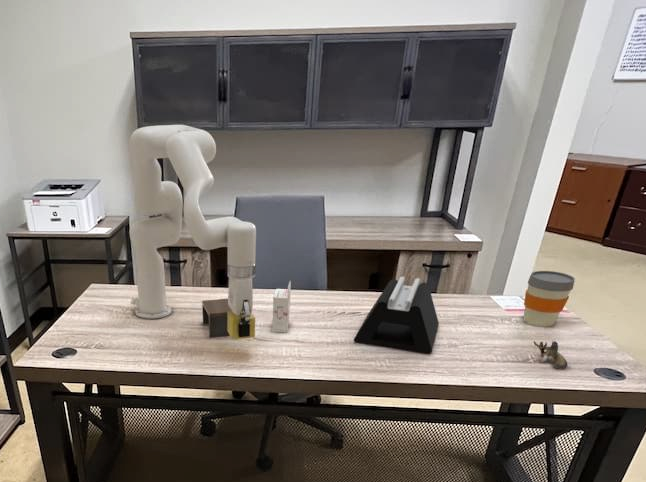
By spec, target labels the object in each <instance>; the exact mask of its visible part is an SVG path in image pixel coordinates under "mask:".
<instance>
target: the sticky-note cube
mask: <svg viewBox="0 0 646 482" xmlns="http://www.w3.org/2000/svg"><path fill="white" fill-rule="evenodd" d="M241 313H244V311H241ZM250 315H251V317H250V336H249V337H239V336H238V324H239V323H240V321H239V314H238V315H236V314H234V312H233V311H230V312H227V331H228V333H229V334H230V336H229V337H230V338H231V340H242V339H243V340H245V339H255V337H256V316H255V315H254V314H253V313H252V312H251V313H250ZM244 316H245V315H242V319H243V317H244Z"/></svg>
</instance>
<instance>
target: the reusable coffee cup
mask: <svg viewBox="0 0 646 482" xmlns="http://www.w3.org/2000/svg"><path fill="white" fill-rule="evenodd" d="M575 279H576V278H575V277H574V276H572V275H571V274H567V273H564V272H559V271H552V270H551V271H550V270H536V271H533V272H531V273H530V276H529V278H528V280H527V284H528V285H527V289H526V290H525V294H524V302H523V305H524V311H523V321H524V322H525V323H526V324H529V325H532V326H535V327H545V328H546V327H552V326H554V325H555V323H556V321H557V319H558V317H559V315H560V313H561V312H562V311H563V310H564V308H565V306H566V304H567V303H568V300H569V298H570V296H569V295H570V293H571V291H572V290H573V289H574V286H575Z"/></svg>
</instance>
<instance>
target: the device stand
mask: <svg viewBox="0 0 646 482" xmlns="http://www.w3.org/2000/svg"><path fill="white" fill-rule="evenodd" d="M405 280H406V278H405V276H400V277H399V279H395V278H392V279H391V280H390V281H388V283H387V284H386V286H385V287H384V289H383V291H382V292H381V294H380V295H379V296H378V298H377V300H376V301H375V303H374V305H373V306H372V308H371V309H370V310H369V312H368V313H367V315H366V317H365V319H364V320H363V322H362V324H361V326H360V328H359V330H358V331H357V333H356V335H355V336H354V338H353V342H355V344H356V343H357V344H363V345H370V346H376V347H383V348H388V349H393V350H400V351H408V352H413V353H418V354H425V355H426V354H427V355H431V354H432V353H433V349H434V345H435V341H436V338H437V334H438V328H439V324H440V323H439V319H438V315H437V311H436V307H435V304H434V300H433V297H432V293H431V288H430V285H429V284H428V283H427V282H421V283H420V281H421V279H420V278H419V277H417V278H414V281H413V283H412V285H405V284H404V283H405Z"/></svg>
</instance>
